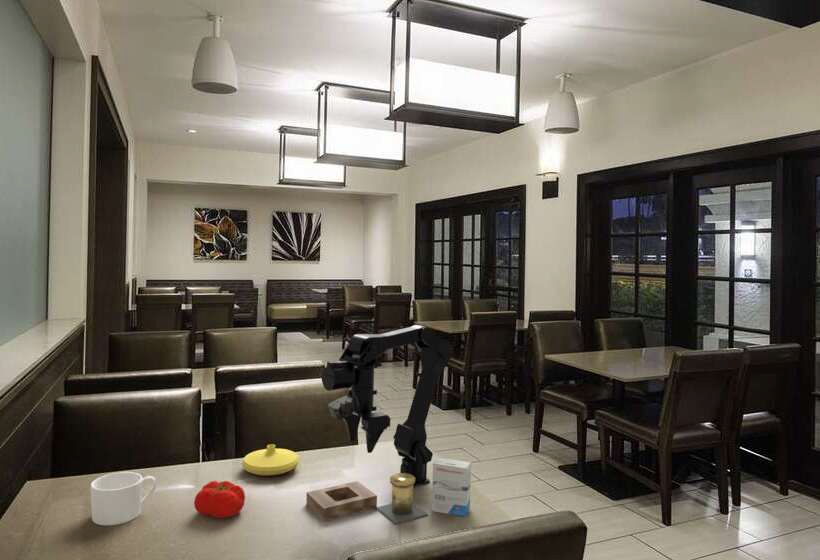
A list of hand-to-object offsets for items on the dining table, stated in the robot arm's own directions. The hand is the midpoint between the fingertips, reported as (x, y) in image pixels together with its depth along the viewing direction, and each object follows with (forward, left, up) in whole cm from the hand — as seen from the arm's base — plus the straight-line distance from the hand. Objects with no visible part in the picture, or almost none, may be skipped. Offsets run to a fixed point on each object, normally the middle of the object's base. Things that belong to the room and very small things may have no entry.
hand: (360, 446), depth 140 cm
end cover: (-5, +12, -12) cm, 18 cm away
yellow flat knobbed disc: (+13, -28, -13) cm, 34 cm away
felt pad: (-5, +12, -13) cm, 18 cm away
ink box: (-16, +17, -13) cm, 27 cm away
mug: (+51, -19, -13) cm, 56 cm away
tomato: (+32, -9, -13) cm, 36 cm away
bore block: (+6, +2, -13) cm, 14 cm away
